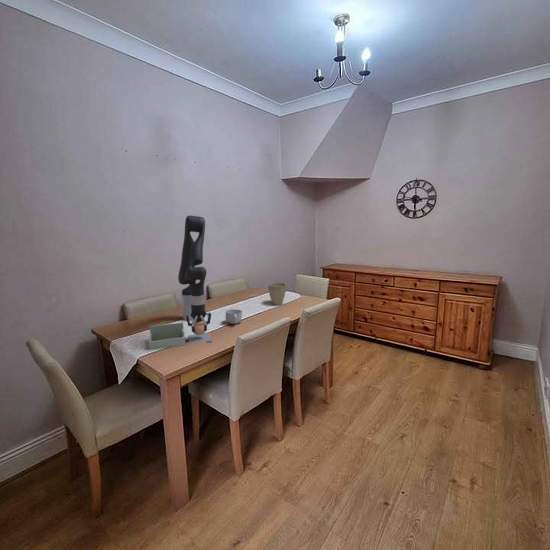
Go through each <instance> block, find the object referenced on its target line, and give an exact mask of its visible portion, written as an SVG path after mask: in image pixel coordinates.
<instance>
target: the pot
mask: <svg viewBox="0 0 550 550" xmlns="http://www.w3.org/2000/svg"><path fill="white" fill-rule="evenodd" d="M204 323H205V322H204V321H196V322H195V323H194V330H195V333H193V335H201V334H204V333H206V332H205V329H204Z"/></svg>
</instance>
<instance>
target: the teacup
mask: <svg viewBox="0 0 550 550" xmlns="http://www.w3.org/2000/svg"><path fill="white" fill-rule="evenodd" d="M224 313H225V321H226V322H227V323H228V324H231V325H236V324H239V323H240V322H242V320H243V319H242V318H243V311H242V310H241V309H238V308H237V309H236V308H230V309H226V310H225V312H224Z"/></svg>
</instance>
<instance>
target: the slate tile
mask: <svg viewBox="0 0 550 550" xmlns="http://www.w3.org/2000/svg"><path fill="white" fill-rule="evenodd" d="M187 339H188V343H189V344H196V343H197V344H198V343H203V342H206V343H207V344H208V343H213V341H212V337H211V335H210V333H209V332H205V333H204V334H201V335H196V334H189V335H187Z"/></svg>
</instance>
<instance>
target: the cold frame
mask: <svg viewBox="0 0 550 550" xmlns="http://www.w3.org/2000/svg"><path fill="white" fill-rule="evenodd" d="M185 338H186V337H185V332H184V322H175V323H165V324H156V325H149V338H148V339H149V340H148V344H149V350H157V349H164V348H171V347H178V346H184V345H186V339H185Z"/></svg>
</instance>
